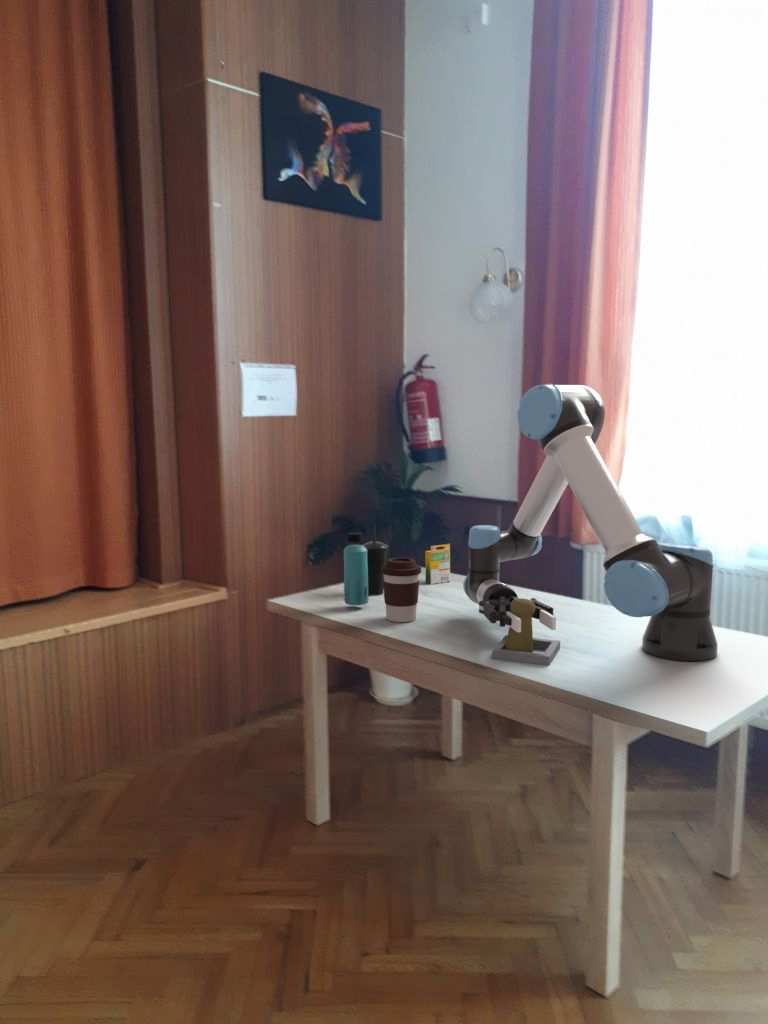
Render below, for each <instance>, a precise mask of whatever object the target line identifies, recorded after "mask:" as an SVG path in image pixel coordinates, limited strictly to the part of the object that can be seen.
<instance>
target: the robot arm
mask: <svg viewBox="0 0 768 1024" xmlns="http://www.w3.org/2000/svg"><path fill="white" fill-rule="evenodd" d="M518 405H519V408H518V410H517V416H516V417H517V419H516V420H517V424H518V427H519V429H520V431H521V432H522V434H523V435H524V436H525V437H527V438H530V439H531V440H534V441H536V440H537V441H538V444H539V446H540V447H541V449H542V451H543V454H544V455H546V457H545V459H544V461H543V462H542V464H541V467H540V469H539V470H538V472H537V475H536V476H535V478H534V480H533V481H532V484H531V486H530V488H529V490H528V492H527V494H526V495H525V497H524V499H523V501H522V504H521V505H520V507H519V509H518V511H517V513H516V515H515V518H514V519H513V521H512V523H511V524H510V527H509V528H508V529H507V530H502V531H500V527H498V526H496V525H492V524H490V525H489V524H481V525H480V524H479V525H474V526H472V527H471V528H470V529H469V533H468V543H467V544H468V545H467V546H468V574H467V575H466V576H465V578H464V581H463V583H462V584H463V585H462V586H463V592H464V594H465V596H467V597H468V598H469V600H471V602H473V603H475V604H476V605H478V613H479V614H482V615H484V617H485V618H486V619H487V620H488V621H489V622H490V623H491V624H497V622H499V627H500V628H504V627H506V626H508V628H509V627H511V628H512V629H513V630H515V631H516V632H521V619H520V618H518V617H517V616H515V615H514V614H512V612H511V609H510V605H511V602H512V601H513V600H514V599H519V598H520V597H518V594H517V593H516V592H515V590H514V589H512V588H511V587H510V586H509V585H507V584H505V583H503V582H501V581H500V563H503V562H508V561H514V560H519V559H526V558H530V557H532V556H534V555H537V554H538V553H539V552H540V551H541V550H542V547H543V545H542V544H543V537H542V535H541V533H542V532H543V530H544V529H545V526H546V525H547V522H548V521H549V519H550V517H551V515H552V513H553V512H554V510H555V508H556V506H557V504H558V503H559V501H560V499H561V497H562V496H563V494H564V493H565V492H564V491H565V490H566V488H567V486H569V487H570V490H571V491H572V493H573V494H574V496H575V498H576V500H577V502H578V504H579V506H580V508H581V510H582V512H583V514H584V516H585V518H586V519H587V522H588V523H589V525H590V527H591V529H592V531H593V533H594V535H595V536H596V538H597V539H596V540H598V542H599V545H600V546H601V548H602V550H603V552H604V554H605V555H604V558H603V562H602V566H603V568H604V570H605V575H604V580H605V581H604V583H603V588H604V592H605V596H606V598H607V600H608V601H609V603H610V604H611V605H612V607H614V608H615V609H616V610H617V611H618V612H620V613H621V614H623V615H626V616H628V617H631V618H632V617H633V618H645V617H650V618H649V621H648V624H647V625H646V629H645V631H644V633H643V636H642V644H641V645H642V646H641V647H642V650H643V651H644V652H646V653H648V654H650V655H652V656H655V657H658V658H662V659H668V660H671V661H672V660H673V661H683V662H701V661H709V660H712V659H714V658H716V657H717V655H718V642H717V637H716V634H715V631H714V628H713V624H712V621H711V606H712V586H713V585H712V584H713V573H714V572H713V571H714V564H713V557H714V556H713V552H712V551H711V550H710V549H709V548H705V547H701V546H694V545H686V544H685V545H684V544H678V543H668V542H667V543H666V542H657V540H656V538H653V537H650V536H647V535H645V534H644V532H643V531H642V529H641V527H640V525H639V524H638V522H637V520H636V518H635V516H634V514H633V512H632V511H631V508H630V506H629V505H628V503H627V502H626V499H625V498H624V496H623V494H622V492H621V490H620V488H619V487H618V485H617V483H616V482H615V480H614V477H613V476H612V475H611V473H610V471H609V470H610V469H608V467H607V465H606V463H605V461H604V459H603V458H602V456H601V454H600V452H599V450H598V449H597V447H596V443H597V441H598V439H599V437H600V435H601V432H602V429H603V427H604V424H605V419H606V418H605V417H606V408H605V405H604V402H603V400H602V398H601V395H599V394H598V393H597V392H596V391H595V389H593V388H591V387H589V386H587V385H583V384H582V385H581V384H553V383H545V384H538V385H534V386H533V387H531V388H529V389H528V390H526V392H525V393H524V395H523V396H522V398H521V400H520V402H519V403H518ZM530 600H531V601H533V602H534V604H535V612H534V614H533V615H532V619H536V620H539V623H540V624H542V625H544V626H545V627H546V628H547V629H550V630H551V631H556V627H557V625H556V624H557V623H556V621H557V618H556V616H554V607H552V606H550V605H547V604H546V603H543V602H541V601H539V600H537V599H536V598H534V597H532V598H530Z"/></svg>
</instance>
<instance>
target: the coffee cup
mask: <svg viewBox="0 0 768 1024" xmlns="http://www.w3.org/2000/svg"><path fill="white" fill-rule="evenodd" d="M381 573H382V574H384V580H383V586H384V590H383V597H384V598H383V599H384V603H385V614H386V620H388V621H390V622H391V623H409V622H414V621H415V619H416V618H417V607H418V606H417V604H418V602H419V591H420V590H419V587H420V579H419V575H420V574H421V573H422V565H420V564H417V562H416V560H415V559H413V558H410V557H391V558H389V559H386V564H384V565H382V566H381Z"/></svg>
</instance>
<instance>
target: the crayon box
mask: <svg viewBox="0 0 768 1024" xmlns="http://www.w3.org/2000/svg"><path fill="white" fill-rule="evenodd" d="M437 548H438V549H437ZM439 548H440V549H439ZM441 548H442V549H441ZM424 552H425V553H424V554H425V556H424V558H425V583H426V584H427V583H428V585H430V584H432V585H436V583H437V584H442V583H441V582H443V583H448V582H447V581H450V582H451V543H446V544H437V545H431V546H430V550H425V551H424Z"/></svg>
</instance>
